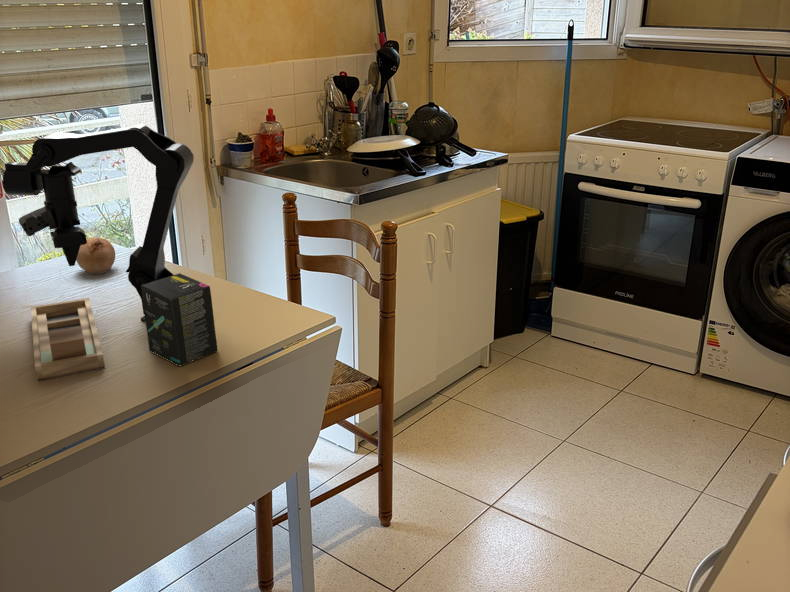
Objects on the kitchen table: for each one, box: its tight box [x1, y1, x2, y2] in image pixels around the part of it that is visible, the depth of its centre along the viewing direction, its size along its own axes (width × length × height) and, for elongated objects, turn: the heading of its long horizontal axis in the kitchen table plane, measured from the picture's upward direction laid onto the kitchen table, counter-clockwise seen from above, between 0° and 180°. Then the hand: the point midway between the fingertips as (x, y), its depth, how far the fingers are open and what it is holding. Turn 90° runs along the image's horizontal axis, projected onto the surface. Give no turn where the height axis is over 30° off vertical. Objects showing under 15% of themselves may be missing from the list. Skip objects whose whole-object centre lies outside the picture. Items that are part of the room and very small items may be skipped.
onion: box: [76, 236, 116, 274], centre depth 196 cm, size 10×9×10 cm
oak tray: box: [30, 297, 106, 381], centre depth 160 cm, size 30×12×3 cm, turn 25°
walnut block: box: [49, 326, 87, 361], centre depth 151 cm, size 6×6×4 cm
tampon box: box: [141, 273, 219, 366], centre depth 155 cm, size 11×9×15 cm
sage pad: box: [40, 343, 96, 363], centre depth 152 cm, size 8×10×1 cm
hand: (71, 265), depth 168 cm, fingers closed
